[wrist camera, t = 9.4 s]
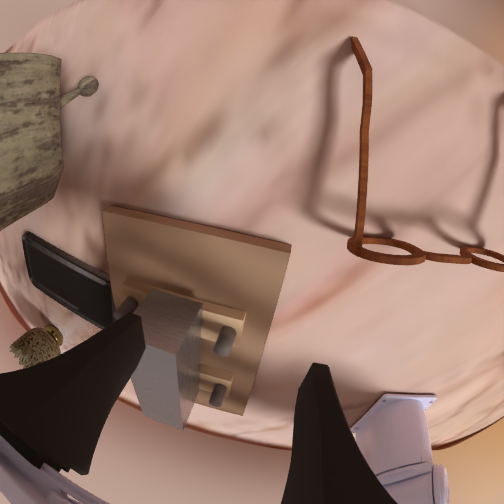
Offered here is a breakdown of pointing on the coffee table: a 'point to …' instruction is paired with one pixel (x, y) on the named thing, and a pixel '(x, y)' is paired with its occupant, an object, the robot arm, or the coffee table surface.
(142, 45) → the coffee table surface
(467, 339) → the coffee table surface
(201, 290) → the peg rack
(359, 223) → the glasses
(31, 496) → the robot arm
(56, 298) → the phone
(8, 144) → the tabletop clock
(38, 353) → the cup
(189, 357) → the metal bar
